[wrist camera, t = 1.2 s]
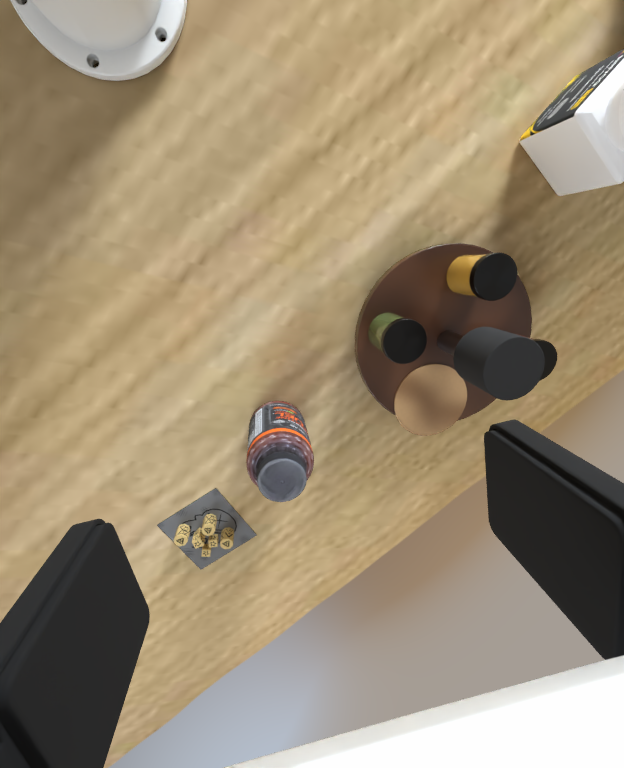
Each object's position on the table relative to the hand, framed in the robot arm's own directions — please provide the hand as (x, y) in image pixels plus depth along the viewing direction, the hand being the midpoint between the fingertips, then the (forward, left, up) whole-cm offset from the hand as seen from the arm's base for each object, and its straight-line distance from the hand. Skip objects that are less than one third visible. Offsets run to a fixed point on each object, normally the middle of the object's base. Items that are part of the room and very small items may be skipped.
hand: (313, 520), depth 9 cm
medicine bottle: (-21, +25, -30) cm, 45 cm away
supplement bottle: (+11, +2, -30) cm, 32 cm away
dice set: (+25, -4, -30) cm, 39 cm away
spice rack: (-1, +17, -28) cm, 33 cm away
